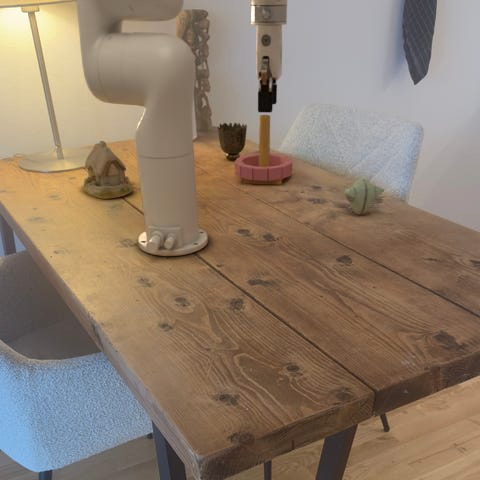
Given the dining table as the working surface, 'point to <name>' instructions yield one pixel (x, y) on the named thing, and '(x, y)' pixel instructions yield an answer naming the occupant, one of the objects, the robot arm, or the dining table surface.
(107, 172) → the ceramic model
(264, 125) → the stand
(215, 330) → the dining table surface
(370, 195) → the green seashell
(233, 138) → the cup
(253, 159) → the pink ring
